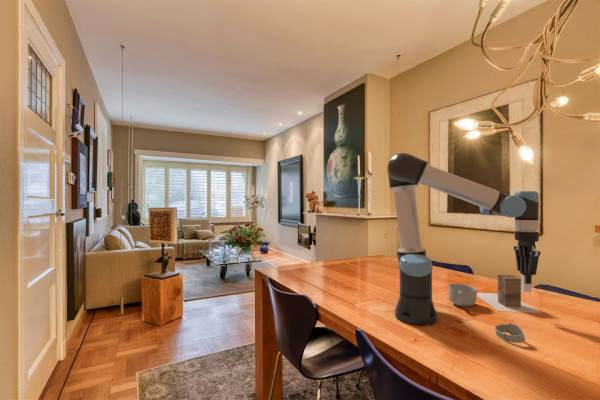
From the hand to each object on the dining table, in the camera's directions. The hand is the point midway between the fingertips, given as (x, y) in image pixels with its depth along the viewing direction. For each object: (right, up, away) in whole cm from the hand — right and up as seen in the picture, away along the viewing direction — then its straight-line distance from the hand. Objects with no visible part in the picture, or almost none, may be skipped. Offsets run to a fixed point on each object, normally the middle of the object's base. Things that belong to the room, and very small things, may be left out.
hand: (526, 291), depth 117 cm
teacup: (-19, -10, +12) cm, 24 cm away
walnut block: (+1, -9, +12) cm, 15 cm away
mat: (+2, -10, +16) cm, 19 cm away
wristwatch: (-20, -10, -18) cm, 29 cm away
